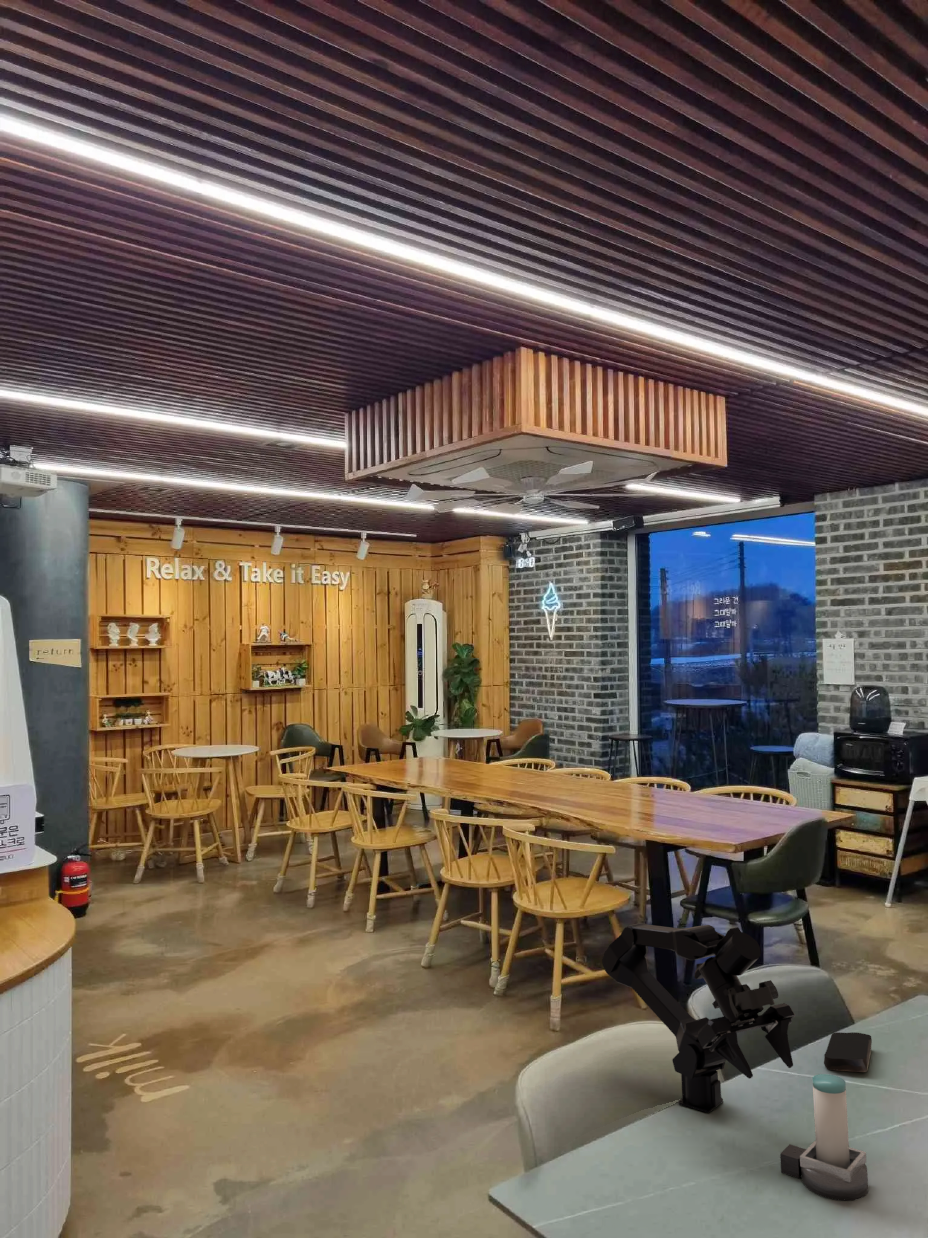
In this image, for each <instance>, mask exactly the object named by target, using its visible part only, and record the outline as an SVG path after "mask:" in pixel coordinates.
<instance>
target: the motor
mask: <svg viewBox="0 0 928 1238" xmlns="http://www.w3.org/2000/svg"><path fill="white" fill-rule="evenodd" d="M849 1155H850V1166H849V1167H848V1169H844V1168H841V1167H838V1166H835V1165H831V1164H828V1163H825V1162H822V1161H819V1160H817V1157H816V1139H815V1140H814V1141H813V1142H812V1143H811V1144H810V1145H809V1146H808V1147H807V1148H803V1147H801V1146H797V1145H794V1144H790V1143H789V1144H788V1145H787V1146H786V1147H785V1148H784V1149H783V1150H782V1151H781V1152H780V1153H779V1158H780V1159H779V1160H780V1173H781V1174H785V1175H787V1176H791V1177H794V1178H797V1179H800V1178H801V1182H802V1184H803V1186H805V1188H806V1189H808V1190H809V1191H810V1192H812V1193H814V1194H815V1195H818V1196H820V1197H822V1198H823V1197H824V1198H825V1199H829V1200H834V1201H840V1202H841V1201H842V1202H843V1201H844V1202H846V1201H847V1202H848V1201H850V1202H851V1201H857V1200H860V1199H862V1198H864V1197H865V1196H867V1194H869V1178H868V1177H869V1176H868V1173H869V1172H868V1167H867V1165H866V1164H867V1162H868V1161H867V1152H866V1151H863V1150H859V1149H856V1148H853V1147H850V1146H849Z"/></svg>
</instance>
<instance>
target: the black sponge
mask: <svg viewBox="0 0 928 1238" xmlns="http://www.w3.org/2000/svg"><path fill="white" fill-rule="evenodd" d="M828 1041H829V1042H828V1045H827V1048H826V1051H825V1053H824V1055H823V1058H824V1059H823V1065H824V1067H825V1068H826V1069H827V1070H829V1071H830V1070H831V1071H838V1072H840V1071H841V1072H855V1073H866V1072H868V1069H869V1068H868V1067H869V1064H870V1060H871V1059H870V1058H871V1053H872V1045H873V1044H872V1043H873V1042H872V1041H873V1040H872V1036H871V1035H870V1034H866V1033H862V1032H840V1031H839V1032H833V1033H832V1034H831V1036H830V1038H829V1040H828Z"/></svg>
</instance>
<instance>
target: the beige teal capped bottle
mask: <svg viewBox="0 0 928 1238" xmlns="http://www.w3.org/2000/svg"><path fill="white" fill-rule="evenodd" d="M811 1081H812V1096H813V1114H814V1115H813V1116H814V1133H815V1134H814V1135H815V1140H816V1157H817V1160H819V1161H822V1162H825V1163H828V1164H831V1165H835V1166H838V1167H841V1168H844V1169H848V1167H849V1166H850V1155H849V1147H850V1141H849V1138H850V1137H849V1124H848V1123H849V1120H848V1119H849V1118H848V1104H847V1088H846V1085H847V1083H846V1080H845V1079H844V1078H842V1077H841V1076H838V1075H834V1074H830V1073H826V1074H825V1073H821V1074H820V1073H818V1074H815V1075H814V1076H812V1080H811Z"/></svg>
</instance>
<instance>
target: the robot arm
mask: <svg viewBox="0 0 928 1238" xmlns="http://www.w3.org/2000/svg"><path fill="white" fill-rule="evenodd" d="M649 948H656V949H664V950H668V951H673V952H675V953H676V955H677V956H679V957H681V958H682V959H686V960H689V961H695V960H696V961H697V960H700V959H705V958H707V959H705V961H704V962H702V963H700V962H699V963H696V965H695V966H696V968H695V972H694V979H695V980H701V979H703V981H705V983H706V985H707V987H708V989H709V991H710V993H711V995H712V996H713V999H714V1001H713V1002H712V1006H713V1008H714V1009H719V1010H720V1012H721V1014H722V1016H720V1017H715V1018H710V1019H709V1018H708V1017H702V1018H699V1019H696V1018H694V1017H693V1016H691V1014H690V1013H689V1012H688V1011H687V1010H686V1009H685V1008H684V1007H683V1006H682V1004H680V1003H679V1002H678V1001H677V999H676V998H674V997H673V995H672V994H671V993H670V992H669V991H668V990H667V989H666V988H665V987H664V986H663V984H661V983H660V982H659V981H658V979H656V977H655V976H654V975H653V974H652V973H651V972H650V971H649V967H648V965H649V964H648V960H647V959H648V958H646V957H647V955H648V953H649ZM761 953H762V951H761V946H760V945H759V943H758V941H757V940H756V939H754V938H753V937H752V936H751V935H749V934H748V933H746V932H743V931H742V930H741V929H740V928H739V926H738V927H737V926H736V927H731V928H729V929H728V931H727V932H726V934H725V935H724V934H722V933H720V932H718V931H716V928H715V927H714V926H712V925H710V924H705V925H704V924H703V925H698V926H693V927H685V928H677V927H671V926H670V927H669V926H663V925H662V926H661V925H655V924H654V925H652V924H647V923H644V922H639V923H634V924H629V925H627V926H626V927H624V928H623V930H622V932H621V934H620V935H619V936H618V937H616V938H615V940H613V941H612V942H611V943H610V945H608V947H607V949H606V950H605V951H604V952H603V956H602V960H601V963H602V967H603V970H604V972H605V973H606V975H608V976H609V977H610V978H612V979H613V981H615V982H616V983H618V984H621V985H623V986H626V987H629V988H630V989H632V990H633V991H634V992H635V993H636V994H637V996H639V998H640V999H641V1000H642V1001H643V1002H644V1003H645V1005H647V1006H648V1008H649V1009H650V1010H651V1011H652V1012H653V1014H655V1016H656V1017H658V1019H659V1020H660V1021H661V1022H662V1023H663V1024H664V1026H666V1027H667V1029H669V1031H670V1032H671V1033H672V1034H673V1036H675V1040H676V1046H677V1051H678V1053H677V1054H676V1055H675V1056H674V1057H673V1058H672V1059H671V1061H672V1065H673V1069H674V1071H675V1072H676V1073H678V1074H680V1077H681V1098H680V1099H679V1100H678V1101H677V1103H678V1105H680V1106H684V1107H686V1108H689V1109H694V1110H697V1111H700V1112H703V1113H708V1114H709V1113H711V1112H712V1111H713V1110H715V1109H716V1108H717V1107H719V1106H720V1105H721V1104H722V1103H724V1099H723V1098H722V1090H721V1089H722V1086H721V1080H719V1070H724V1069H725V1064H726V1061H727V1062H729V1063H730V1065H732V1066H733V1067H734V1068H735V1069H737V1070H738V1071H739V1072H740V1073H742V1074H743V1075H744V1076H745V1077H746V1078H747V1079H753V1077H754V1073H753V1072H752V1070H751V1067H750V1064H749V1062H748V1061H747V1059H746V1056H745V1055H744V1053H743V1051H742V1049H741V1047H740V1045H739V1043H738V1033H742V1032H747V1031H750V1030H754V1029H759V1028H760V1029H761V1030H762V1031H763V1032H765V1033H766V1034H765V1035H764V1037H765V1039H766V1041H767V1042H768V1043H769V1044H770V1046H771V1047H772V1048H773V1050H774V1051H775V1052H776V1054H777V1056H778V1057H779V1058H780V1060H781V1061H782V1063H784V1064H785V1066H786V1067H787V1068H788V1069H791V1068H792V1067H794V1062H793V1057H792V1051H791V1049H790V1047H791V1046H790V1043H789V1035H788V1031H789V1026H790V1025H791V1024H792V1023H793V1021H792V1020H793V1019H795V1017H796V1014H795V1012H794V1011H793V1009H792V1007H791V1006H790V1005H789V1004H787V1003H785V1002H783V1003H778V1004H775V1001H774V1000H775V999H779V992H778V989H777V987H776V985H775V984H774V983H773V981H772V979H770V980H765V981H762V982H759V983H758V988H754V989H751V987H750V986H749V985H748V984H747V983H745V984H743V983H741V981H740V979H739V977H738V976H742V975H743V974H745V973H746V972H747V970H749V968H750V967H751V966H752V965H754V963H756V961H757V960H759V958H760V957H761ZM764 1006H769V1007H768V1008H767V1009H766V1010H765V1009H764ZM763 1010H765V1011H764V1012H763ZM762 1012H763V1013H762ZM759 1013H762V1014H760V1015H759Z"/></svg>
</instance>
